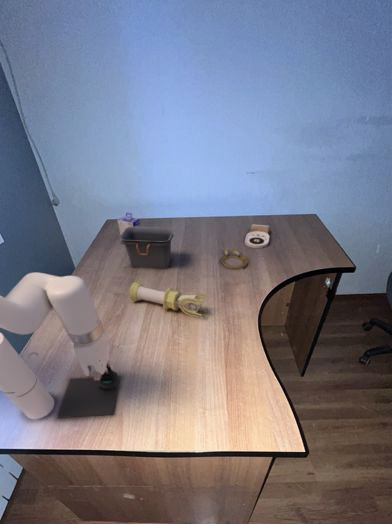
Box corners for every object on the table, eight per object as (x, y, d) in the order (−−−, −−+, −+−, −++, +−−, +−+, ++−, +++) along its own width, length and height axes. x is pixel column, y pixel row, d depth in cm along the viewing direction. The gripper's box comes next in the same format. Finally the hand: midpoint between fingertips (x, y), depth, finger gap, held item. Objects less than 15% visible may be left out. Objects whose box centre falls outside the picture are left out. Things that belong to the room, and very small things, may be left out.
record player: (271, 226, 139) (267, 243, 126) (270, 231, 141) (266, 249, 128) (249, 224, 141) (243, 241, 128) (248, 230, 144) (242, 247, 131)
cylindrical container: (32, 397, 73) (-26, 332, 55) (58, 396, 73) (9, 329, 55) (22, 421, 68) (-45, 358, 50) (50, 419, 69) (-7, 355, 50)
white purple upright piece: (144, 243, 136) (138, 213, 126) (137, 248, 133) (131, 217, 122) (129, 239, 140) (122, 210, 129) (122, 244, 136) (115, 214, 126)
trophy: (125, 287, 95) (202, 304, 87) (136, 276, 100) (210, 291, 91) (130, 305, 101) (202, 323, 93) (140, 294, 106) (210, 310, 97)
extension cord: (250, 254, 125) (250, 250, 124) (244, 271, 115) (245, 267, 113) (225, 251, 128) (225, 247, 126) (217, 268, 117) (217, 264, 116)
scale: (59, 419, 69) (54, 413, 66) (72, 379, 77) (69, 372, 75) (115, 416, 69) (112, 410, 67) (122, 376, 78) (119, 369, 75)
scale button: (102, 386, 73) (101, 383, 72) (104, 377, 75) (103, 374, 74) (113, 385, 73) (112, 382, 72) (115, 377, 75) (113, 373, 74)
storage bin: (177, 257, 125) (174, 227, 114) (171, 275, 114) (167, 243, 104) (133, 256, 127) (127, 226, 117) (123, 273, 117) (115, 241, 106)
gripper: (77, 310, 65) (99, 359, 78) (58, 355, 55) (88, 402, 68) (108, 308, 65) (125, 357, 78) (95, 353, 55) (117, 400, 68)
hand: (108, 378), depth 73 cm, fingers closed
